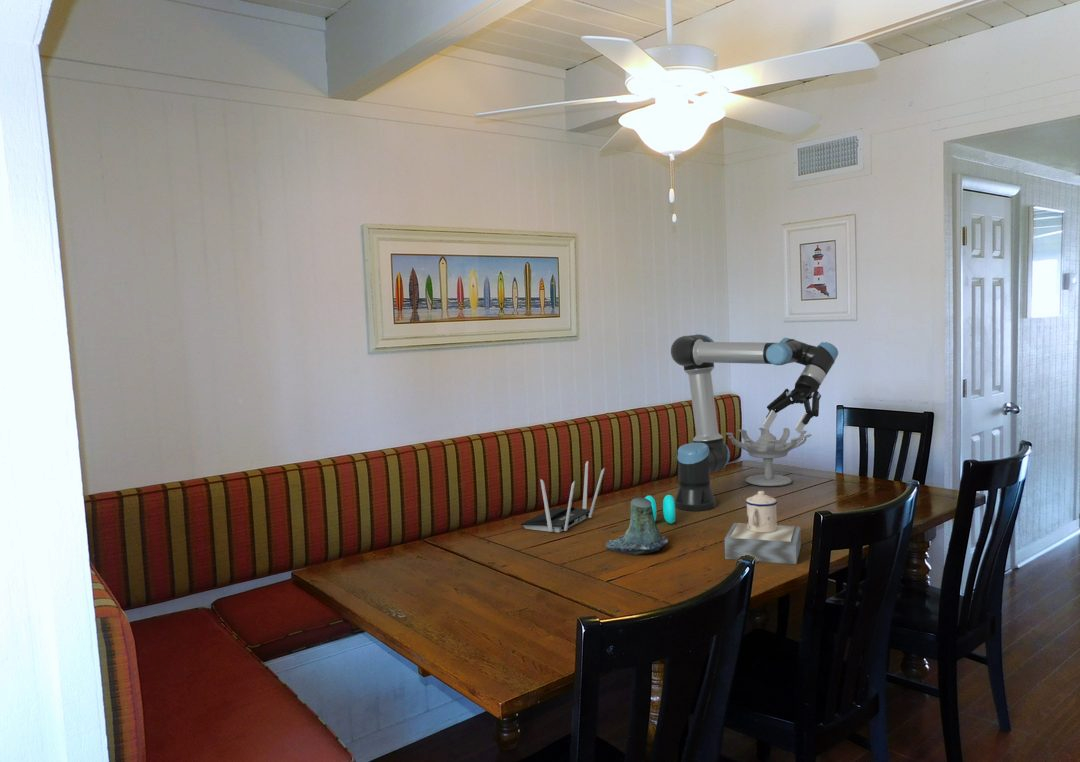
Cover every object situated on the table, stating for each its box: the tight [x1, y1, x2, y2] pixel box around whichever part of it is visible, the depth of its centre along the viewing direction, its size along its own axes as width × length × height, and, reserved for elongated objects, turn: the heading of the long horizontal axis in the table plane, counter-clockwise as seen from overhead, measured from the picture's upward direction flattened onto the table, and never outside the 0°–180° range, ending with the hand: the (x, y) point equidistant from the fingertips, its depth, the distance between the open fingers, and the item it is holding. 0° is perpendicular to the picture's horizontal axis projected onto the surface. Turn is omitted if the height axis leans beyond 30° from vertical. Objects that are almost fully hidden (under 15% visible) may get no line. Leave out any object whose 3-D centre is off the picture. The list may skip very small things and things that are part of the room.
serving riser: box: [724, 522, 802, 565], centre depth 228 cm, size 20×18×6 cm
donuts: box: [644, 494, 676, 524], centre depth 266 cm, size 10×10×10 cm
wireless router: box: [520, 460, 606, 533], centre depth 270 cm, size 34×23×20 cm
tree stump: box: [604, 497, 669, 556], centre depth 238 cm, size 19×21×19 cm
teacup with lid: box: [745, 490, 778, 533], centre depth 228 cm, size 12×9×12 cm
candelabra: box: [725, 427, 812, 487], centre depth 320 cm, size 34×35×27 cm
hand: (781, 429), depth 256 cm, fingers open, 13 cm apart
